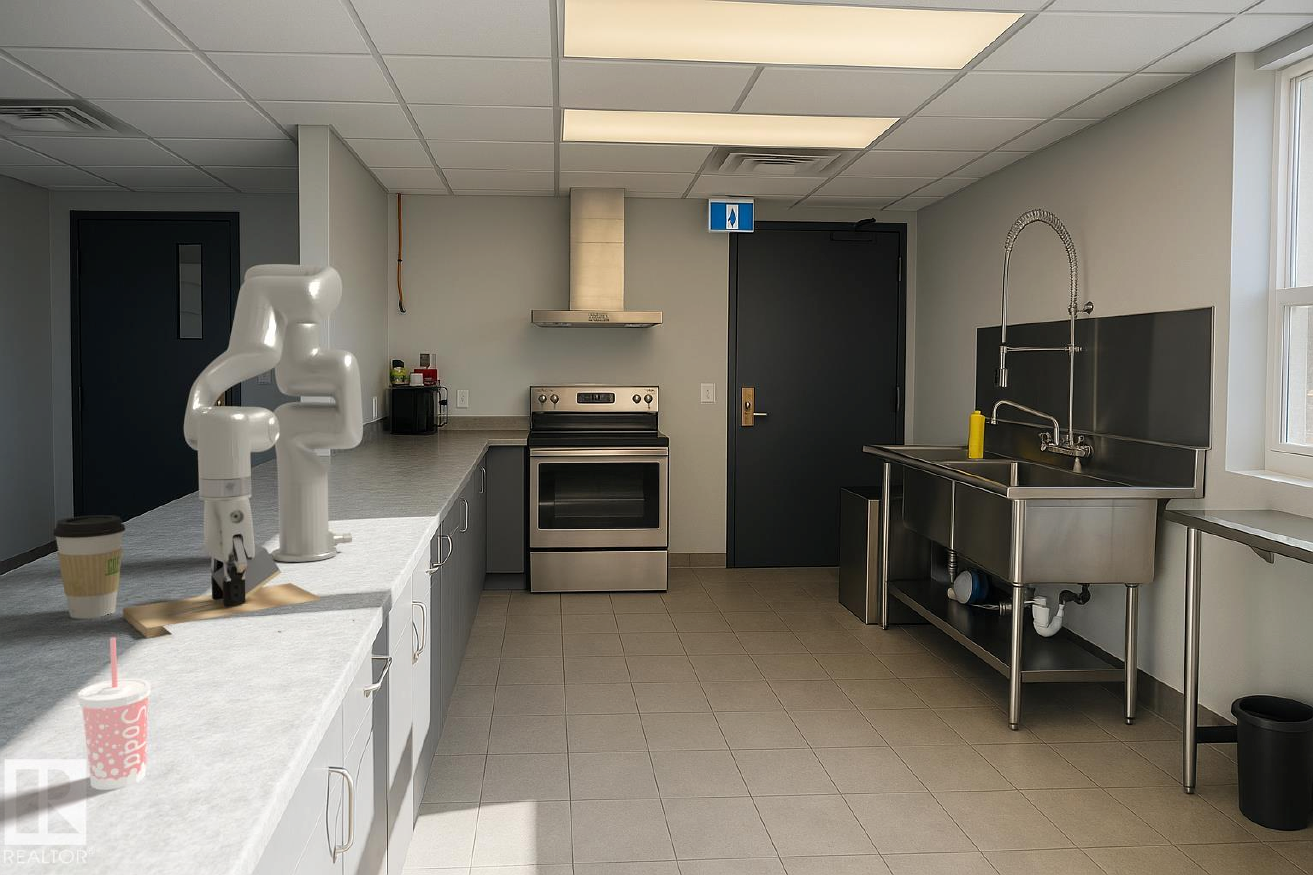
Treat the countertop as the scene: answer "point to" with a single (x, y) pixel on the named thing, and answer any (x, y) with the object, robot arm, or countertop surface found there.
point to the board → (209, 608)
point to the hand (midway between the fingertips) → (228, 600)
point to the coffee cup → (90, 563)
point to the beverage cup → (115, 728)
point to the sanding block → (254, 571)
